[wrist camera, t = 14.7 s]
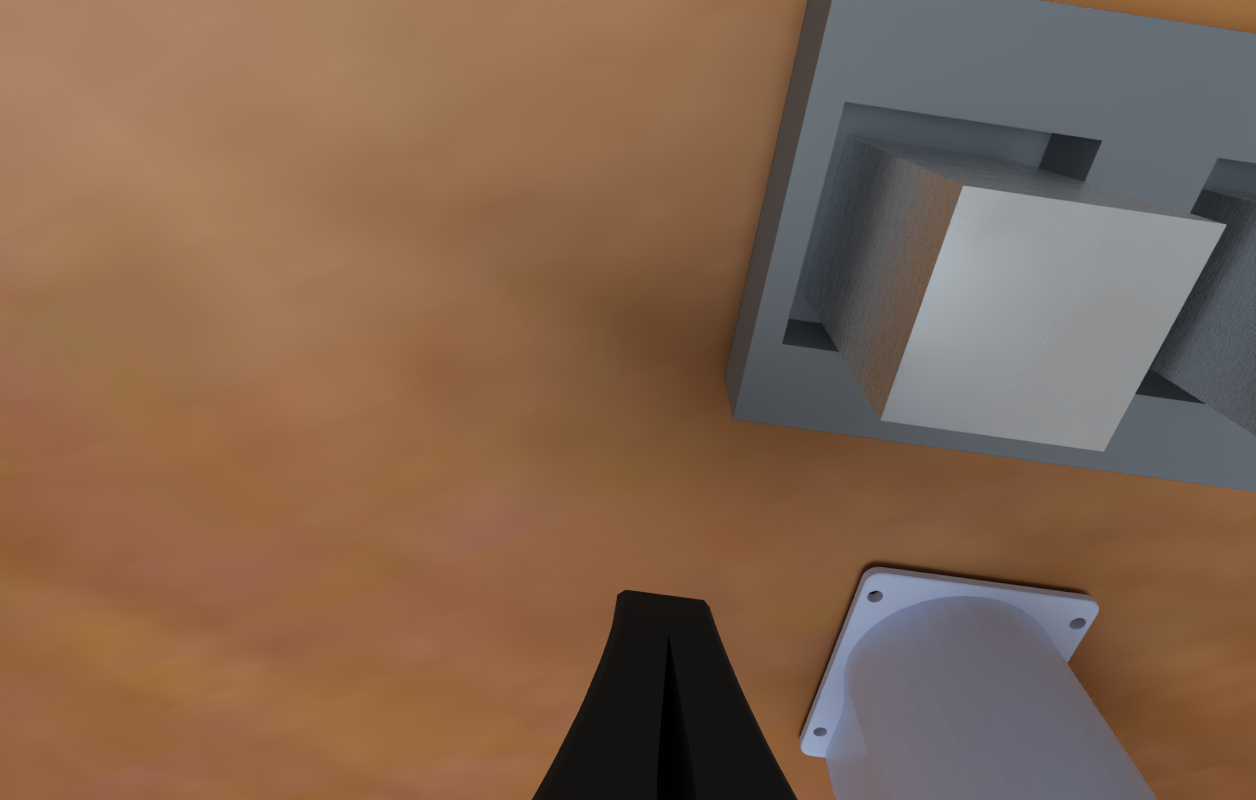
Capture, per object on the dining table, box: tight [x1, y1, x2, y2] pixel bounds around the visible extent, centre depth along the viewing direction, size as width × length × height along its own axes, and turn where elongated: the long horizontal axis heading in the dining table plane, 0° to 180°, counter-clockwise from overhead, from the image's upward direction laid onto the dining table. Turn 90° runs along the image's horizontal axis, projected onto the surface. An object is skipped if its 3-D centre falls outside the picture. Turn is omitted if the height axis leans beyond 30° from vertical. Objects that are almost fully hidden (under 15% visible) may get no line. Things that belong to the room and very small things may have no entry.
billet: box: [804, 135, 1227, 452], centre depth 14 cm, size 4×4×7 cm
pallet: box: [725, 0, 1256, 492], centre depth 17 cm, size 10×15×3 cm, turn 83°
